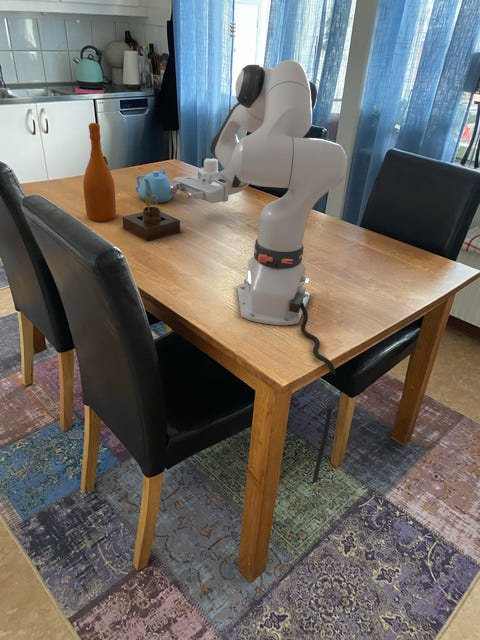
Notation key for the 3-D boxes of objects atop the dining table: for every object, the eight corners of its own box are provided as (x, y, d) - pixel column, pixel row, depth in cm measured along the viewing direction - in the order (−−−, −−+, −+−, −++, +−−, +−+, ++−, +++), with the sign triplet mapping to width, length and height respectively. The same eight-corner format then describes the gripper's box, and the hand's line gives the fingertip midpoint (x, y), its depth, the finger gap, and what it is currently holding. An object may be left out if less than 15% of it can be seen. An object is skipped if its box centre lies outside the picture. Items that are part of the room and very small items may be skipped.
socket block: (180, 232, 159) (180, 220, 156) (147, 241, 150) (147, 229, 148) (155, 220, 166) (155, 208, 164) (123, 228, 158) (122, 216, 156)
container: (197, 187, 200) (198, 155, 193) (215, 187, 202) (217, 155, 195) (201, 193, 194) (202, 160, 187) (220, 193, 196) (222, 160, 189)
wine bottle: (119, 221, 162) (113, 126, 147) (88, 223, 159) (79, 126, 143) (114, 211, 170) (107, 120, 154) (84, 213, 167) (75, 120, 151)
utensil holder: (164, 228, 160) (163, 192, 154) (156, 234, 155) (155, 198, 149) (147, 225, 161) (146, 189, 155) (139, 231, 156) (137, 195, 150)
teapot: (131, 194, 187) (130, 167, 182) (167, 190, 194) (167, 164, 188) (145, 206, 177) (144, 178, 171) (183, 202, 183) (183, 175, 178)
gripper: (191, 169, 173) (160, 175, 164) (232, 184, 162) (200, 191, 153) (191, 187, 177) (160, 193, 168) (231, 202, 165) (200, 210, 156)
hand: (180, 192), depth 160 cm, fingers open, 8 cm apart
